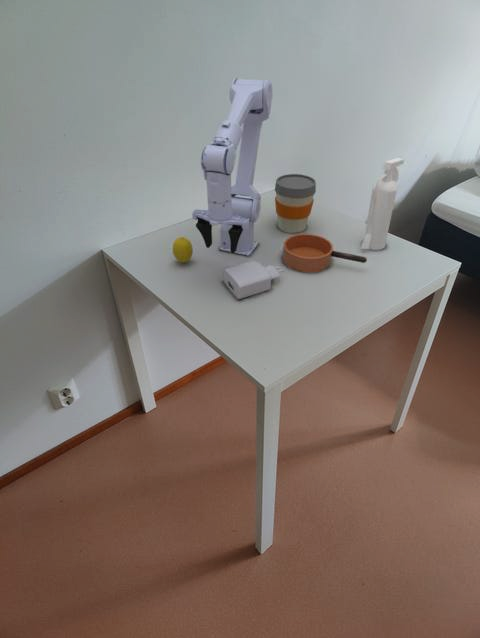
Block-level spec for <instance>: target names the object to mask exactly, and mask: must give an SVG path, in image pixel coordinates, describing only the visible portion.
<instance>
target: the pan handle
mask: <svg viewBox="0 0 480 638" xmlns="http://www.w3.org/2000/svg"><path fill="white" fill-rule="evenodd" d="M329 252H330V251H329ZM329 252H328V253H329ZM331 256H332V258H336V259H341V260H348V261H352V262H357V263H362V264H366V262H367V260H368V259H367V257H366V256H362V255H356V254H351V253H347V252H341V251H337V250H333V251H332V254H331Z"/></svg>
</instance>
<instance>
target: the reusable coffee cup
mask: <svg viewBox="0 0 480 638" xmlns="http://www.w3.org/2000/svg"><path fill="white" fill-rule="evenodd" d="M316 187H317V181H316V179H315V178H313V177H312V176H309V175H306V174H299V173H287V174H283V175H281V176H279V177H277V178H276V180H275V185H274V192H275V196H274V197H275V198H274V203H275V213H276V215H277V227H278V228H279V230H281V231H282V232H285V233H290V234H296V233H301V232H304V231H305V230H306V228H307V223H308V220H309V216H310V215H311V213H312V209H313V205H314V203H315V202H314V201H315V199H314V196H315V194H316V192H317V188H316Z"/></svg>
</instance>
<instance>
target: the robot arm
mask: <svg viewBox="0 0 480 638" xmlns="http://www.w3.org/2000/svg"><path fill="white" fill-rule="evenodd" d="M229 100H230V107H229V110H228V114H227V116H226V119H224V120H222V121H221V122H220V123H219V125H218V127H217V129H216V131H215V133H214V136H213V138H212V140H211V142H210V144H207V146H204V147H203V149H202V151H201V154H200V155H201V156H200V167H201V170H202V173H203V178H204V180H205V181H206V195H207V197H206V198H207V209H197V208H196V209H195V210H193V211H192V212H191V215H192V220H193V221H197V222H196V223H195V228H196V229H197V230H198V232H199V233H200V235H201V237H202V239H203V241H204V245H205V247H206V248H207V249H209V248H210V247H212V245H213V226H219V225H220V228H219V229H220V230H219V233H220V234H219V235H220V236H219V237H220V247H219V250H220V251H223V252H224V251H225V252H229V253H231V254H239V255H242V256H249V257H250V255H251V254H252V253H253V251H254V250H255V249H256V247H257V246H258V245H259V242H258V241H254V240H255V239H254V238H255V236H254V235H255V223H256V222H257V221H258V219H259V218H260V214H261V208H262V207H261V199H262V197H261V196H262V195H261V194H260V192H259V191H258V190H257V189H256V188H255V187H254V186H253V185H254V179H255V172H256V164H257V158H258V151H259V143H260V137H261V131H262V126H263V122H264V121H267V120H268V119H270V114H271V109H272V103H273V84H272V82H271V81H270V79H265V80H261V79H248V78H247V79H246V78H238V77H235V78H233V79H232V81H231V82H230V86H229ZM241 127H242V128H241ZM239 144H240V147H239V153H238V155H239V156H238V162H237V168H236V169H237V170H236V177H235V183H234V184H233V185H232V173H233V171H234V169H235V163H236V158H237V152H236V151H237V148H238V146H239ZM240 196H241V197H240ZM248 197H250V198H248Z"/></svg>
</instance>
